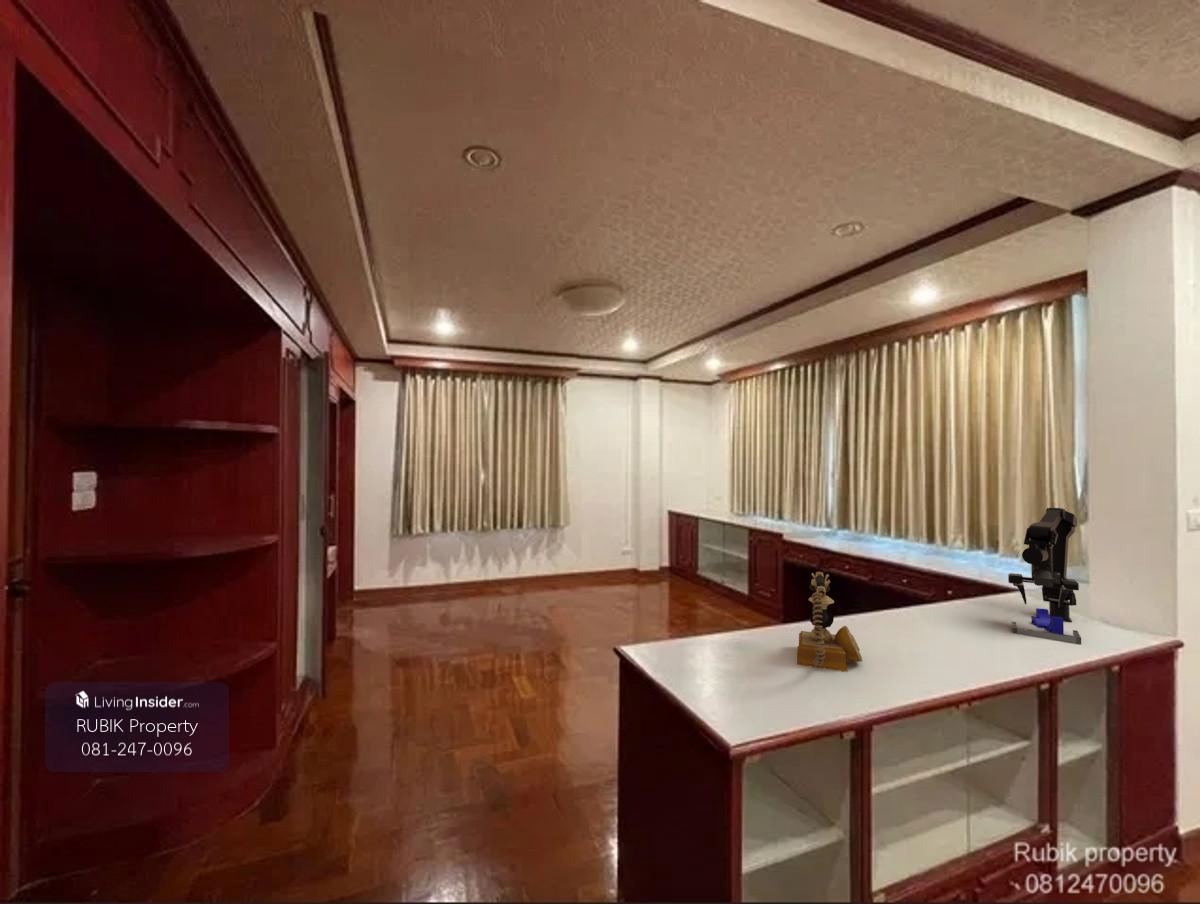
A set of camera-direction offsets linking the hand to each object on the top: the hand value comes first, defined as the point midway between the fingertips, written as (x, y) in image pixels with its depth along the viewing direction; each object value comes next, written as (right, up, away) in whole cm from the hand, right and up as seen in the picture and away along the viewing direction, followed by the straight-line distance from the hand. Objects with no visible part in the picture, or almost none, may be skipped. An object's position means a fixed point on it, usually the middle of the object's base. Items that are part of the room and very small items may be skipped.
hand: (1042, 606), depth 186 cm
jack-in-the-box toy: (-89, -8, -34) cm, 96 cm away
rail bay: (-4, -8, -6) cm, 11 cm away
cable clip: (+2, -9, 0) cm, 9 cm away
